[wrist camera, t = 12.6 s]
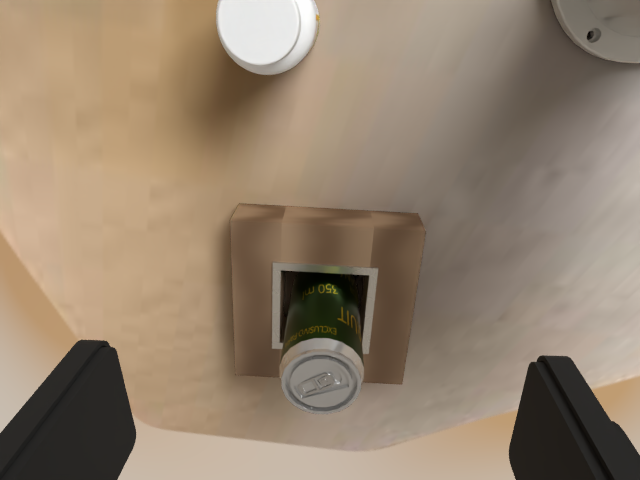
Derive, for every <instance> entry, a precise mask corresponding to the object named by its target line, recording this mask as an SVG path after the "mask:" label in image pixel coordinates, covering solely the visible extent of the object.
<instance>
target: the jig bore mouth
mask: <svg viewBox="0 0 640 480" xmlns="http://www.w3.org/2000/svg"><path fill="white" fill-rule="evenodd" d="M281 270H284V271H302V272H319V273H337V274H355V275H369V281H368V291H367V300H366V310H365V319H364V329H363V338H362V349H363V354H369V346H370V338H371V329H372V320H373V311H374V302H375V294H376V285H377V276H378V267H362V266H345V265H327V264H309V263H291V262H274V261H273V286H272V349H282V347H283V341H280V298H281Z"/></svg>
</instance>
